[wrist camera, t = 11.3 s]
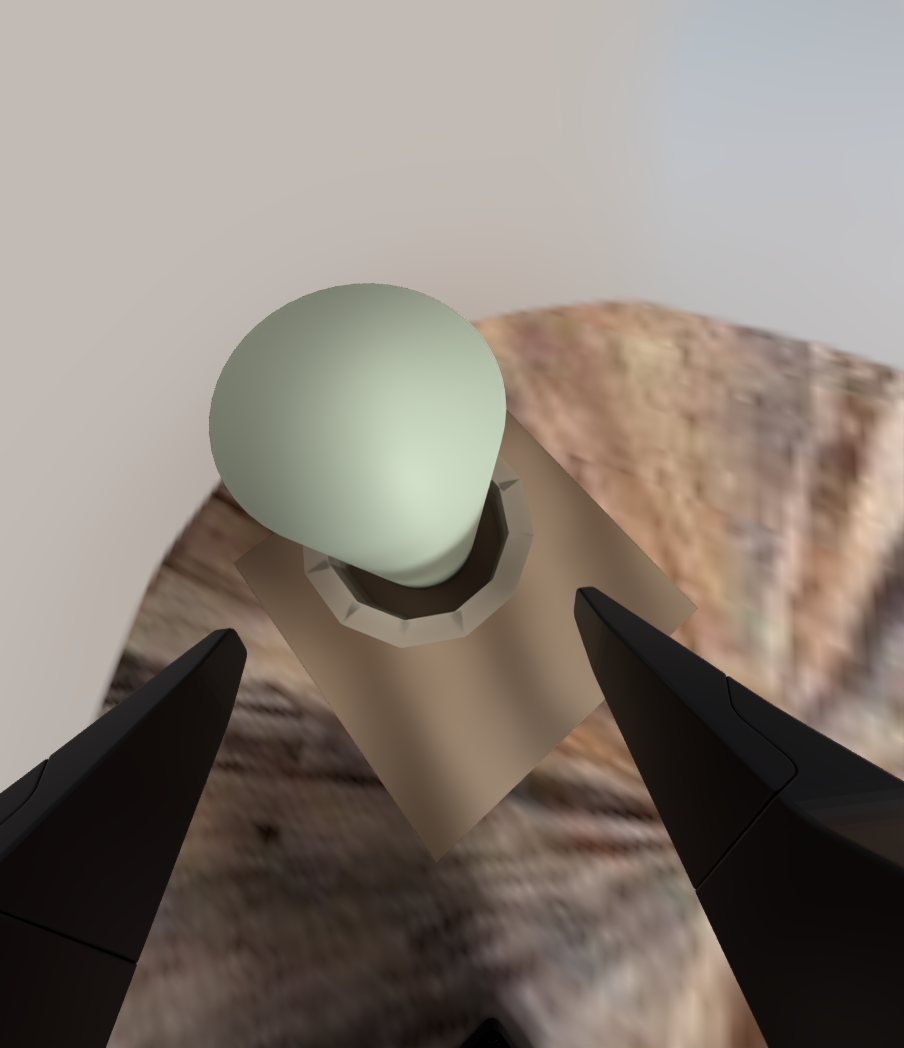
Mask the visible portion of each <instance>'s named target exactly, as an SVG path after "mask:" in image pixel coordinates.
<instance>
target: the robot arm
mask: <svg viewBox="0 0 904 1048" xmlns="http://www.w3.org/2000/svg"><path fill="white" fill-rule="evenodd" d="M574 618H575V621H576V624H577V627H578V630H579V633H580V636H581V639H582V642H583V645H584V647H585V650H586V653H587V656H588V659H589V662H590V665H591V668H592V671H593V673H594V675H595V678H596V680H597V682H598V684H599V687H600V689H601V691H602V693H603V695H604V697H605V699H606V702H607V704H608V706H609V708H610V710H611V712H612V714H613V716H614V719H615V721H616V723H617V725H618V727H619V729H620V731H621V734H622V736H623V738H624V740H625V742H626V744H627V746H628V749H629V751H630V753H631V755H632V757H633V759H634V761H635V764H636V766H637V768H638V770H639V772H640V774H641V776H642V778H643V781H644V783H645V785H646V787H647V789H648V791H649V793H650V796H651V798H652V800H653V802H654V804H655V806H656V808H657V811H658V813H659V815H660V817H661V819H662V821H663V823H664V826H665V828H666V830H667V832H668V834H669V836H670V838H671V840H672V843H673V845H674V847H675V849H676V851H677V853H678V855H679V858H680V860H681V862H682V864H683V866H684V868H685V870H686V873H687V875H688V877H689V879H690V881H691V883H692V885H693V887H694V889H696V890H695V892H696V894H697V897H698V899H699V901H700V903H701V905H702V907H703V909H704V912H705V914H706V916H707V918H708V920H709V922H710V924H711V927H712V929H713V931H714V933H715V935H716V937H717V939H718V942H719V944H720V946H721V948H722V950H723V952H724V954H725V956H726V959H727V961H728V963H729V965H730V967H731V969H732V971H733V974H734V976H735V978H736V980H737V982H738V984H739V986H740V989H741V991H742V993H743V995H744V997H745V999H746V1001H747V1004H748V1006H749V1008H750V1010H751V1012H752V1014H753V1016H754V1019H755V1021H756V1023H757V1025H758V1027H759V1029H760V1031H761V1034H762V1036H763V1038H764V1040H765V1042H766V1044H767V1046H768V1048H904V781H903V780H901V779H899V778H897V777H895V776H894V775H892V774H890V773H888V772H887V771H885V770H883V769H882V768H880V767H878V766H876V765H875V764H873V763H871V762H870V761H868V760H866V759H864V758H863V757H861V756H859V755H857V754H856V753H854V752H852V751H851V750H849V749H847V748H845V747H844V746H842V745H840V744H838V743H837V742H835V741H833V740H832V739H830V738H828V737H826V736H825V735H823V734H821V733H819V732H818V731H816V730H814V729H813V728H811V727H809V726H808V725H806V724H804V723H802V722H801V721H799V720H797V719H796V718H794V717H792V716H791V715H789V714H787V713H786V712H784V711H782V710H781V709H779V708H777V707H776V706H774V705H773V704H771V703H770V702H768V701H766V700H765V699H763V698H762V697H760V696H759V695H757V694H755V693H754V692H752V691H751V690H749V689H748V688H746V687H745V686H743V685H742V684H740V683H739V682H737V681H736V680H734V679H733V678H731V677H729V676H727V677H726V675H725V673H723V672H722V671H720V670H719V669H717V668H716V667H714V666H713V665H711V664H710V663H708V662H707V661H705V660H704V659H702V658H701V657H699V656H698V655H696V654H695V653H693V652H692V651H690V650H689V649H687V648H686V647H684V646H683V645H681V644H680V643H678V642H677V641H675V640H674V639H672V638H671V637H669V636H668V635H666V634H665V633H663V632H662V631H660V630H659V629H657V628H656V627H654V626H653V625H651V624H650V623H648V622H647V621H645V620H644V619H642V618H641V617H639V616H638V615H636V614H635V613H633V612H632V611H630V610H628V609H627V608H625V607H624V606H622V605H621V604H619V603H618V602H616V601H615V600H613V599H612V598H610V597H609V596H607V595H606V594H604V593H603V592H601V591H600V590H598V589H597V588H595V587H593V586H588V587H580V588H578V589H577V590H576V595H575V603H574ZM246 658H247V651H246V648H245V646H244V644H243V643H242V641H241V639H240V637H239V636H238V634H237V632H236V631H235V630H234V629H231V628H228V629H219V630H215V631H214V632H212V633H211V634H209V635H208V636H207V637H206V638H204V639H203V640H202V641H200V642H199V643H198V644H196V645H195V646H194V647H192V648H191V649H190V650H188V651H187V652H186V653H185V654H183V655H182V656H181V657H179V658H178V659H177V660H175V661H174V662H173V663H171V664H170V665H169V666H167V667H166V668H165V669H163V670H162V671H161V672H160V673H158V674H157V675H156V676H154V677H153V678H152V679H150V680H149V681H148V682H146V683H145V684H144V685H142V686H141V687H140V688H139V689H137V690H136V691H135V692H133V693H132V694H131V695H129V696H128V697H127V698H125V699H124V700H123V701H121V702H120V703H119V704H118V705H116V706H115V707H114V708H112V709H111V710H110V711H108V712H107V713H106V714H104V715H103V716H102V717H100V718H99V719H98V720H97V721H95V722H94V723H93V724H91V725H90V726H89V727H87V728H86V729H85V730H83V731H82V732H81V733H79V734H78V735H77V736H76V737H74V738H73V739H72V740H70V741H69V742H68V743H66V744H65V745H64V746H62V747H61V748H60V749H58V750H57V751H56V752H55V753H53V754H52V755H51V756H50V757H49V759H46V760H44V761H43V762H41V763H40V764H39V765H37V766H36V767H35V768H33V769H32V770H31V771H30V772H28V773H27V774H26V775H24V776H23V777H22V778H20V779H19V780H18V781H17V782H15V783H14V784H12V785H11V786H10V787H8V788H7V789H6V790H4V791H3V792H2V793H0V1048H106V1046H107V1043H108V1040H109V1038H110V1035H111V1032H112V1030H113V1027H114V1024H115V1022H116V1019H117V1017H118V1014H119V1011H120V1009H121V1006H122V1003H123V1001H124V998H125V995H126V993H127V990H128V987H129V985H130V982H131V980H132V977H133V974H134V972H135V969H136V966H137V964H136V963H137V962H138V960H139V958H140V955H141V952H142V950H143V947H144V944H145V942H146V939H147V937H148V934H149V931H150V929H151V926H152V923H153V921H154V918H155V915H156V913H157V910H158V907H159V905H160V902H161V900H162V897H163V894H164V892H165V889H166V886H167V884H168V881H169V878H170V876H171V873H172V870H173V868H174V865H175V863H176V860H177V857H178V855H179V852H180V849H181V847H182V844H183V841H184V839H185V836H186V834H187V831H188V828H189V826H190V823H191V820H192V818H193V815H194V812H195V810H196V807H197V804H198V802H199V799H200V797H201V794H202V791H203V789H204V786H205V783H206V781H207V778H208V775H209V773H210V770H211V767H212V765H213V762H214V760H215V757H216V754H217V752H218V749H219V746H220V744H221V741H222V738H223V736H224V733H225V731H226V728H227V725H228V722H229V719H230V717H231V713H232V710H233V707H234V703H235V699H236V696H237V692H238V688H239V684H240V681H241V677H242V673H243V669H244V666H245V662H246ZM491 1038H496V1039H497V1041H495V1042H494V1043H492V1042H489V1041H488V1040H489V1039H491ZM460 1048H517V1047H516V1045H515V1044H514V1042H513V1040H512V1039H511V1037H510V1036H509V1034H508V1033H507V1031H506V1030H505V1028H504V1027H503V1025H502V1024H501V1023H500V1022H499V1021H498V1020H497V1019H495V1018H488V1019H487V1020H485V1021H484V1022H483V1023H482V1024H481V1025H480V1026H479V1027H478V1028H477V1029H476V1031H475V1032H474V1033H473V1034H472V1035H471V1036H470V1037H469V1038H468V1039H467V1040H466V1041H465V1042H464V1043H463V1045H462V1046H461V1047H460Z"/></svg>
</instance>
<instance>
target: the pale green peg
mask: <svg viewBox="0 0 904 1048" xmlns="http://www.w3.org/2000/svg"><path fill="white" fill-rule="evenodd" d="M505 418H506V398H505V389H504V384H503V379H502V375H501V372H500V369H499V367H498V364H497V361H496V359H495V357H494V355H493V353H492V352H491V350H490V348H489V346H488V344H487V343H486V342H485V340H484V339H483V338H482V336H481V335H480V334H479V332H478V331H477V330H476V329H475V328H474V327H473V326H472V325H471V324H470V323H469V322H468V321H467V320H466V319H465V318H464V317H463V316H461V315H460V314H458V312H456V311H455V310H454V309H452V308H450V307H449V306H447V305H446V304H444V303H442V302H441V301H439V300H437V299H434V298H432V297H430V296H428V295H426V294H423V293H420V292H417V291H414V290H411V289H408V288H403V287H398V286H392V285H385V284H372V283H371V284H351V285H344V286H336V287H332V288H328V289H324V290H320V291H317V292H314V293H311V294H308V295H306V296H303V297H301V298H299V299H297V300H295V301H293V302H290V303H288V304H286V305H285V306H283V307H281V308H280V309H278V310H277V311H275V312H273V313H272V314H271V315H269V316H268V317H267V318H265V319H264V320H263V321H262V322H261V323H259V324H258V325H257V326H256V327H255V328H254V329H253V330H252V331H251V332H250V333H249V334H248V335H247V336H245V338H244V339H243V340H242V342H241V343H240V344H239V345H238V347H237V348H236V349H235V350H234V351H233V353H232V355H231V356H230V358H229V360H228V361H227V363H226V364H225V366H224V368H223V370H222V373H221V375H220V377H219V379H218V381H217V384H216V388H215V391H214V394H213V398H212V403H211V409H210V416H209V435H210V443H211V449H212V454H213V457H214V461H215V464H216V467H217V469H218V472H219V474H220V476H221V478H222V480H223V482H224V484H225V486H226V487H227V489H228V490H229V492H230V493H231V495H232V496H233V498H234V499H235V500H236V501H237V502H238V504H239V505H240V506H241V507H242V508H243V509H244V510H245V511H246V512H247V513H248V514H249V515H250V516H252V517H253V518H254V519H255V520H257V521H258V522H259V523H260V524H262V525H263V526H265V527H266V528H268V529H270V530H272V531H273V532H275V533H277V534H278V535H280V536H283V537H285V538H287V539H290V540H292V541H295V542H297V543H300V544H302V545H304V546H307V547H309V548H312V549H314V550H317V551H319V552H322V553H324V554H326V555H329V556H331V557H334V558H336V559H339V560H341V561H343V562H346V563H348V564H351V565H353V566H356V567H358V568H360V569H363V570H365V571H368V572H370V573H373V574H375V575H377V576H380V577H382V578H385V579H387V580H390V581H392V582H394V583H397V584H399V585H402V586H404V587H407V588H411V589H418V590H426V589H433V588H436V587H439V586H442V585H444V584H446V583H448V582H449V581H451V580H452V579H453V578H455V577H456V576H457V575H458V574H459V573H460V572H461V571H462V569H463V568H464V567H465V565H466V563H467V561H468V559H469V556H470V554H471V550H472V547H473V543H474V539H475V536H476V532H477V528H478V525H479V521H480V518H481V514H482V510H483V507H484V503H485V499H486V496H487V492H488V488H489V485H490V481H491V478H492V474H493V470H494V467H495V463H496V459H497V456H498V452H499V449H500V445H501V441H502V436H503V432H504V428H505Z"/></svg>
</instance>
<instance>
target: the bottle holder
mask: <svg viewBox="0 0 904 1048" xmlns="http://www.w3.org/2000/svg"><path fill="white" fill-rule="evenodd" d="M234 565H235V566H236V568H237V569H238V571H239V572H240V573H241V575H242V576H243V578H244V579H245V581H246V582H247V584H248V585H249V587H250V588H251V590H252V591H253V593H254V594H255V596H256V597H257V599H258V600H259V602H260V603H261V605H262V606H263V608H264V609H265V610H266V612H267V613H268V615H269V616H270V618H271V619H272V621H273V622H274V624H275V625H276V627H277V628H278V630H279V631H280V633H281V634H282V636H283V637H284V639H285V640H286V642H287V643H288V644H289V646H290V647H291V649H292V650H293V652H294V653H295V655H296V656H297V658H298V659H299V661H300V662H301V664H302V665H303V667H304V668H305V670H306V671H307V673H308V674H309V676H310V677H311V679H312V680H313V681H314V683H315V684H316V686H317V687H318V689H319V690H320V692H321V693H322V695H323V696H324V698H325V699H326V701H327V702H328V704H329V705H330V707H331V708H332V710H333V711H334V713H335V714H336V715H337V717H338V718H339V720H340V721H341V723H342V724H343V726H344V727H345V729H346V730H347V732H348V733H349V735H350V736H351V738H352V739H353V741H354V742H355V744H356V745H357V747H358V748H359V750H360V751H361V752H362V754H363V755H364V757H365V758H366V760H367V761H368V763H369V764H370V766H371V767H372V769H373V770H374V772H375V773H376V775H377V776H378V778H379V779H380V781H381V782H382V784H383V785H384V787H385V788H386V789H387V791H388V792H389V794H390V795H391V797H392V798H393V800H394V801H395V803H396V804H397V806H398V807H399V809H400V810H401V812H402V813H403V815H404V816H405V818H406V819H407V821H408V822H409V823H410V825H411V826H412V828H413V829H414V831H415V832H416V834H417V835H418V837H419V838H420V840H421V841H422V843H423V844H424V846H425V847H426V849H427V850H428V852H429V853H430V855H431V856H432V858H433V859H434V860H435V862H438V861H439V860H440V859H441V858H442V857H443V856H444V855H445V854H446V853H447V852H448V851H449V850H450V849H451V848H452V847H453V846H454V845H455V844H456V843H457V842H458V841H459V840H460V839H461V838H462V837H463V836H464V835H465V834H466V833H467V832H468V831H469V830H470V829H472V828H473V827H474V826H475V825H476V824H477V823H478V822H479V821H480V820H481V819H482V818H483V817H484V816H485V815H486V814H487V813H488V812H489V811H490V810H491V809H492V808H493V807H494V806H495V805H496V804H497V803H498V802H499V801H500V800H501V799H502V798H503V797H504V796H506V795H507V794H508V793H509V792H510V791H511V790H512V789H513V788H514V787H515V786H516V785H517V784H518V783H519V782H520V781H521V780H522V779H523V778H524V777H525V776H526V775H527V774H528V773H529V772H530V771H531V770H532V769H533V768H534V767H535V766H536V765H537V764H538V763H539V762H541V761H542V760H543V759H544V758H545V757H546V756H547V755H548V754H549V753H550V752H551V751H552V750H553V749H554V748H555V747H556V746H557V745H558V744H559V743H560V742H561V741H562V740H563V739H564V738H565V737H566V736H567V735H568V734H569V733H570V732H571V731H572V730H573V729H575V728H576V727H577V726H578V725H579V724H580V723H581V722H582V721H583V720H584V719H585V718H586V717H587V716H588V715H589V714H590V713H591V712H592V711H593V710H594V709H595V708H596V707H597V706H598V705H599V704H600V703H601V702H602V701H603V700H604V699H605V697H604V695H603V693H602V691H601V689H600V687H599V684H598V682H597V680H596V678H595V675H594V673H593V671H592V668H591V665H590V662H589V659H588V656H587V653H586V650H585V647H584V645H583V642H582V639H581V636H580V633H579V630H578V627H577V624H576V621H575V618H574V603H575V595H576V590H577V589H578V588H580V587H588V586H593V587H595V588H597V589H598V590H600V591H601V592H603V593H604V594H606V595H607V596H609V597H610V598H612V599H613V600H615V601H616V602H618V603H619V604H621V605H622V606H624V607H625V608H627V609H628V610H630V611H632V612H633V613H635V614H636V615H638V616H639V617H641V618H642V619H644V620H645V621H647V622H648V623H650V624H651V625H653V626H654V627H656V628H657V629H659V630H660V631H662V632H663V633H665V634H666V635H668V636H670V635H671V634H672V633H673V632H674V631H675V630H676V629H678V628H679V627H680V626H681V625H682V624H683V623H684V622H685V621H686V620H687V619H688V618H689V617H690V616H691V615H692V614H693V613H694V612H695V611H696V610H697V609H698V608H697V607H696V605H695V604H694V603H693V602H692V601H691V600H690V599H689V598H688V597H687V596H686V595H685V594H684V593H683V592H682V591H681V590H680V589H679V588H678V587H677V586H676V585H675V584H674V583H673V582H672V581H671V580H670V579H669V577H668V576H667V575H666V574H665V573H664V572H663V571H662V570H661V569H660V568H659V567H658V566H657V565H656V564H655V563H654V562H653V561H652V560H651V559H650V558H649V557H648V556H647V555H646V554H645V553H644V552H643V551H642V549H641V548H640V547H639V546H638V545H637V544H636V543H635V542H634V541H633V540H632V539H631V538H630V537H629V536H628V535H627V534H626V533H625V532H624V531H623V530H622V529H621V528H620V527H619V526H618V525H617V524H616V523H615V521H614V520H613V519H612V518H611V517H610V516H609V515H608V514H607V513H606V512H605V511H604V510H603V509H602V508H601V507H600V506H599V505H598V504H597V503H596V502H595V501H594V500H593V499H592V498H591V497H590V496H589V495H588V494H587V492H586V491H585V490H584V489H583V488H582V487H581V486H580V485H579V484H578V483H577V482H576V481H575V480H574V479H573V478H572V477H571V476H570V475H569V474H568V473H567V472H566V471H565V470H564V469H563V468H562V467H561V466H560V464H559V463H558V462H557V461H556V460H555V459H554V458H553V457H552V456H551V455H550V454H549V453H548V452H547V451H546V450H545V449H544V448H543V447H542V446H541V445H540V444H539V443H538V442H537V441H536V440H535V439H534V438H533V436H532V435H531V434H530V433H529V432H528V431H527V430H526V429H525V428H524V427H523V426H522V425H521V424H520V423H519V422H518V421H517V420H516V419H515V418H514V417H513V416H512V415H511V414H510V413H509V412H508V411H507V410H506V418H505V428H504V432H503V436H502V441H501V445H500V449H499V452H498V456H497V459H496V463H495V467H494V470H493V474H492V478H491V481H490V485H489V488H488V492H487V496H486V499H485V503H484V507H483V510H482V514H481V518H480V521H479V525H478V528H477V532H476V536H475V539H474V543H473V547H472V550H471V554H470V556H469V559H468V561H467V563H466V565H465V567H464V568H463V569H462V571H461V572H460V573H459V574H458V575H457V576H456V577H455V578H453V579H452V580H451V581H449V582H448V583H446V584H444V585H442V586H439V587H436V588H433V589H426V590H418V589H411V588H407V587H404V586H402V585H399V584H397V583H394V582H392V581H390V580H387V579H385V578H382V577H380V576H377V575H375V574H373V573H370V572H368V571H365V570H363V569H360V568H358V567H356V566H353V565H351V564H348V563H346V562H343V561H341V560H339V559H336V558H334V557H331V556H329V555H326V554H324V553H322V552H319V551H317V550H314V549H312V548H309V547H307V546H304V545H302V544H300V543H297V542H295V541H292V540H290V539H287V538H285V537H283V536H280V535H278V534H277V533H274V534H272V535H271V536H269V537H268V538H267V539H265V540H264V541H263V542H261V543H260V544H259V545H257V546H256V547H255V548H253V549H252V550H251V551H249V552H248V553H247V554H245V555H244V556H242V557H241V558H240V559H238V560H237V561H236V562H234Z"/></svg>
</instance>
